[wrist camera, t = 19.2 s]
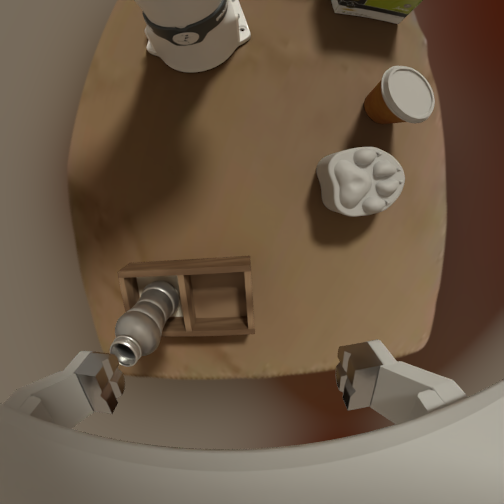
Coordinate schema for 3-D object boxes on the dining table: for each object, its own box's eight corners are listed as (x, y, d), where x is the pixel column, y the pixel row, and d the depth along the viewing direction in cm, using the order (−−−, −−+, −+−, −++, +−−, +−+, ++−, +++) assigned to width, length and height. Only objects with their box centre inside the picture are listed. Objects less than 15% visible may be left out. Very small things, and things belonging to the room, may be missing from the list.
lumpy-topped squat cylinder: (312, 156, 45) (327, 151, 37) (379, 146, 45) (403, 141, 36) (324, 216, 47) (340, 223, 39) (389, 202, 47) (414, 207, 39)
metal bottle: (156, 269, 48) (107, 320, 29) (188, 290, 49) (156, 352, 30) (141, 297, 49) (93, 355, 30) (171, 316, 50) (137, 384, 31)
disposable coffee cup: (374, 141, 44) (409, 131, 33) (345, 96, 42) (373, 74, 31) (409, 120, 43) (446, 109, 32) (382, 77, 41) (413, 56, 30)
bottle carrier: (129, 262, 49) (117, 272, 43) (249, 255, 49) (250, 265, 43) (141, 321, 51) (131, 335, 46) (253, 318, 52) (254, 334, 46)
